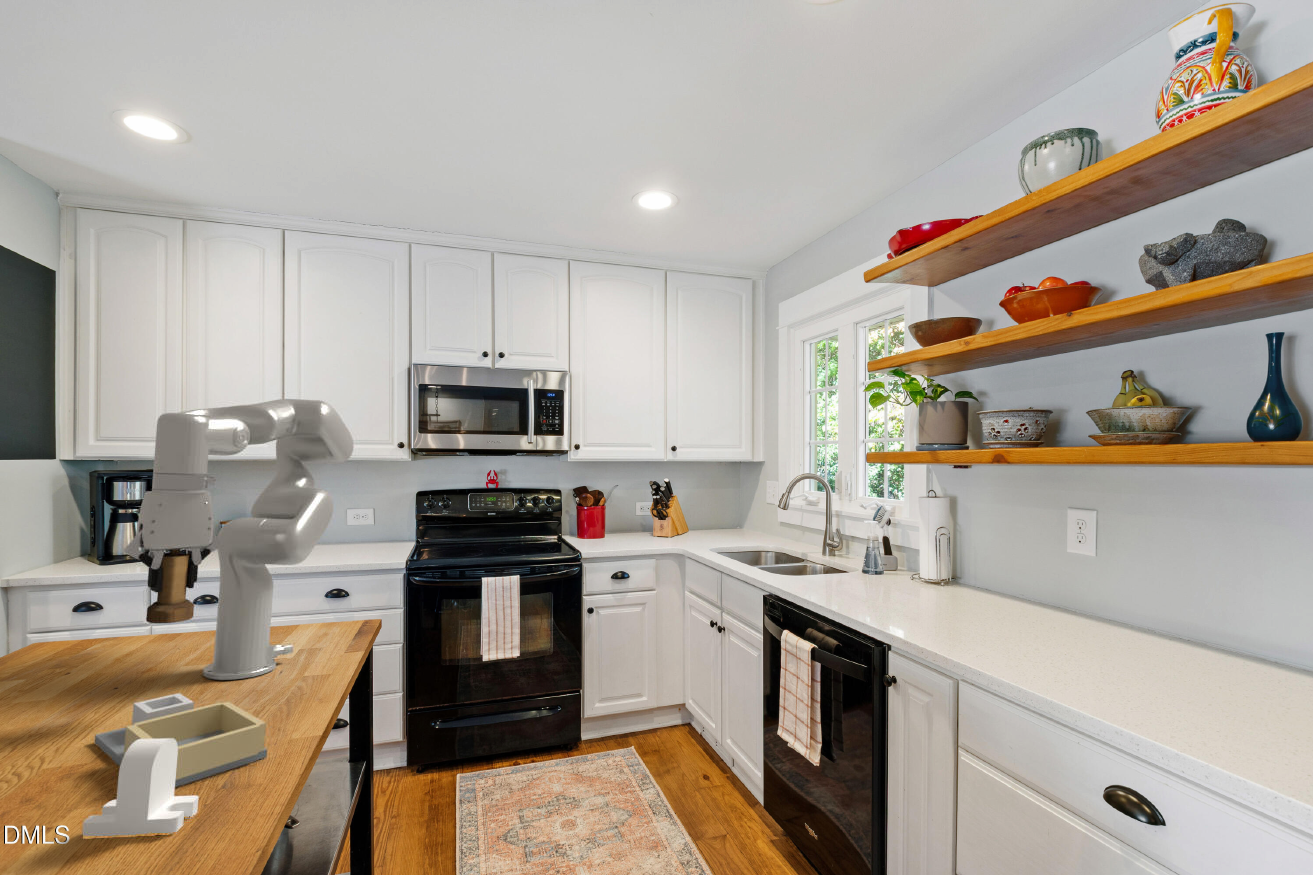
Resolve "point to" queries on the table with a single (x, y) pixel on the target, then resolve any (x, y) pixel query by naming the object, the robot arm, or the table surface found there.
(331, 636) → the table surface
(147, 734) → the socket board
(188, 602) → the brown pepper mill
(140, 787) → the cable organizer
